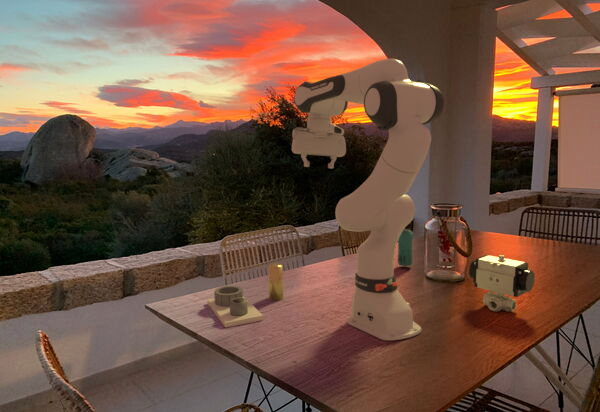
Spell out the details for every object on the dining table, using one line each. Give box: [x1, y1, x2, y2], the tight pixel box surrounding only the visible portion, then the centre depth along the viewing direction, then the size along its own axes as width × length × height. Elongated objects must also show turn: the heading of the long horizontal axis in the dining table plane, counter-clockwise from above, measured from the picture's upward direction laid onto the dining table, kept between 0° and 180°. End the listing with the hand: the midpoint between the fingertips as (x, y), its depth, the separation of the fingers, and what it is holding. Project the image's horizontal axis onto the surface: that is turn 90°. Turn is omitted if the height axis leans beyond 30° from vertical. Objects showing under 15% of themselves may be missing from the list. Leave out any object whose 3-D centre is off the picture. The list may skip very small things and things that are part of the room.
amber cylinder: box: [268, 262, 284, 302], centre depth 149 cm, size 5×5×12 cm
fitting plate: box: [207, 285, 264, 328], centre depth 137 cm, size 22×12×6 cm, turn 26°
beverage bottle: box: [397, 222, 414, 267], centre depth 184 cm, size 6×7×20 cm
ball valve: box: [468, 254, 536, 312], centre depth 136 cm, size 18×8×18 cm, turn 40°
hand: (318, 167), depth 152 cm, fingers open, 8 cm apart
